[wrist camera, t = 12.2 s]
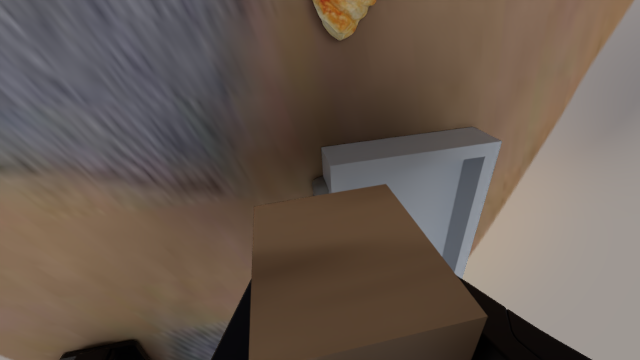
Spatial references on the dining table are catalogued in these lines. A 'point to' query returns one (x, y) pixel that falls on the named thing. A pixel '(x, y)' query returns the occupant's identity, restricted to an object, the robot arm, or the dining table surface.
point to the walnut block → (354, 284)
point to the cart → (423, 181)
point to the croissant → (341, 15)
